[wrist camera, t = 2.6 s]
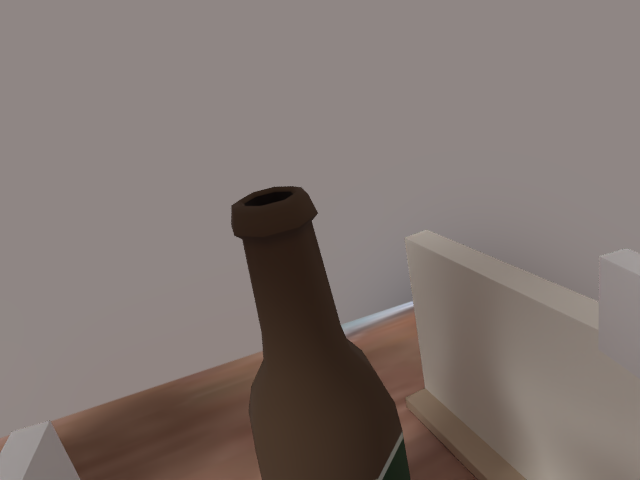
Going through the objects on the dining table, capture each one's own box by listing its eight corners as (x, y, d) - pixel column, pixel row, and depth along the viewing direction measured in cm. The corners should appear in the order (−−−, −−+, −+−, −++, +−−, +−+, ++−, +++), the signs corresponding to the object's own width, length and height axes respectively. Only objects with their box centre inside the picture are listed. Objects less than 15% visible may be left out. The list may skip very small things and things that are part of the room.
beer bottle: (353, 688, 24) (227, 251, 15) (272, 573, 30) (148, 213, 21) (454, 575, 28) (401, 176, 19) (364, 494, 34) (292, 162, 25)
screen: (406, 407, 41) (381, 246, 35) (463, 378, 43) (447, 221, 37) (639, 643, 23) (661, 398, 18) (717, 576, 25) (759, 337, 20)
